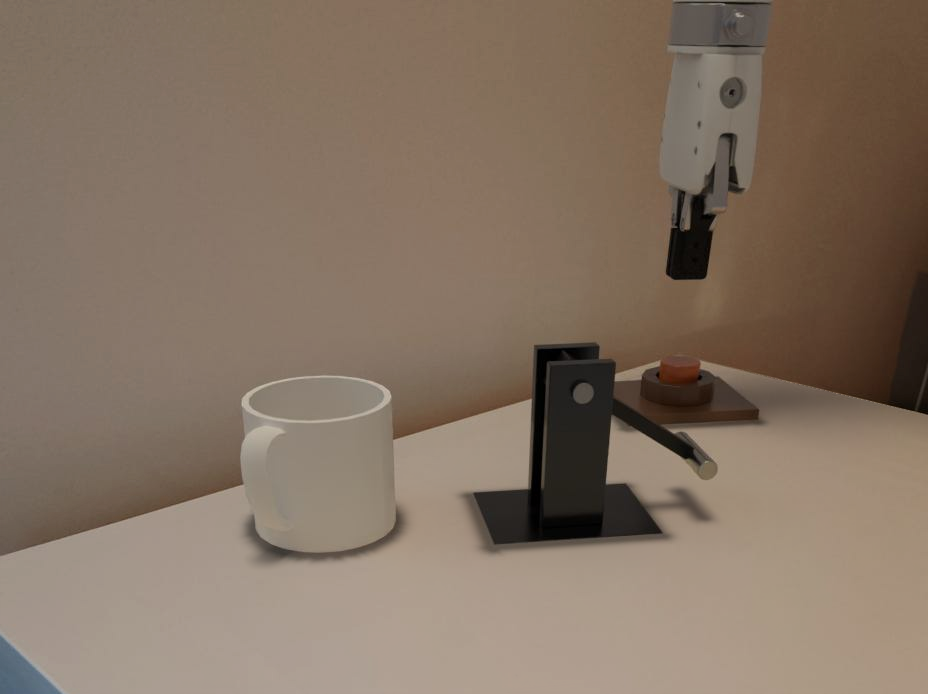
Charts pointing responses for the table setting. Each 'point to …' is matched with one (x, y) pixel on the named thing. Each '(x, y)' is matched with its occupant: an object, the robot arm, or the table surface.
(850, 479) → the table surface
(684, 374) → the button
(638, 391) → the button box
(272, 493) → the mug
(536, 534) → the bracket
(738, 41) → the robot arm
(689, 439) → the lever
